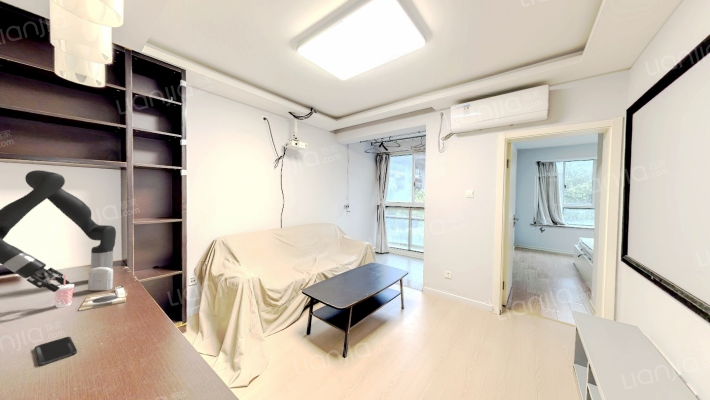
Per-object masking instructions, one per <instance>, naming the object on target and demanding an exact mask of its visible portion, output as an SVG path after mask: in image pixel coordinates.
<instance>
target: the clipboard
mask: <svg viewBox="0 0 710 400" xmlns="http://www.w3.org/2000/svg"><path fill="white" fill-rule="evenodd" d="M125 291H126V292H127V293H126V296H125V297H117V296H116V295H115V293H114V292H110V293H109V292H108V293H103V294H97V295H90V296H86V298H85V299H84V301H83V302H82V304H81V306H80V307H79V309H78V312H81V311H86V310H92V309H98V308H99V309H100V308H102V307H104V308H105V307H107V306H114V305H120V304H125V303H126V301H127V296H128V292H129V290H125ZM125 300H126V301H125Z"/></svg>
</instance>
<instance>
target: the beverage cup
mask: <svg viewBox="0 0 710 400" xmlns="http://www.w3.org/2000/svg"><path fill="white" fill-rule="evenodd" d="M66 277H67V276H66V275H63V278H64V285H62V284H60V285H57V286H58V287H59V289H58V290H57V291H55V292H54V297H55V307H56V308H65V307H68V306H71V305H72V302H73V293H74V287H75V284H74V283H68V284H66V285H65V279H66ZM66 280H67V279H66Z"/></svg>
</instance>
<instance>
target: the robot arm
mask: <svg viewBox="0 0 710 400" xmlns="http://www.w3.org/2000/svg"><path fill="white" fill-rule="evenodd" d="M24 179H25V182H26V184H27V185H28V187H30V188H31V189H32V190H31V191H29V192H28V193H27V194H24V196H22V197H20V198H18V199H16V200H14V201H11V202H10V203H8V204H6V205H5V206H3V207H2V208H0V264H1V265H2V266H3V267H5V268H6V269H8V270H10V271H11V272H13V273H14V274H16V275H18V276H20V277H22V278H23V279H26V281H27V282H28V283H30V284H31V285H33V286H35V287H36V288H39V289H42V288H44V289H48V290H49V291H51V292H52V293H55V291H57V290H58V289H59V287H58V286H59V285H56V284H54V283H52V282H51V281H54V282H55V281H56V283H58V284H60V285H64V273H62V272H60V271H58V270H56V269H55V268H53V267H48V269H47V268H46V266H47V264H46V263H45V262H42V261H41V260H39V259H38V258H36V257H34V256H33V255H31V254H29V253H27V252H24V251H23V250H22V249H20V248H18V247H16V246H14V245H12V244H9V243H8V242H6V241H5V240H4V239H5V238H6V236H7V235H8V234H9V233H10V231H11V230H12V229H13V228H14V227H15V226H16V225H17V224H19V222H20V221H21V220H22V219H23V218H24V217H25V216H26V215H28V214H29V213H30V212H31V211H32V210H33V209H34V208H36V207H37V206H39V205H40V204H42V202H44V201H46V199H47V200H48V201H49V202H50V203H51V204H52V205H54V206H55V207H56V209H58V210H59V211H60V212H61V213H62V214H64V215H65V216H66V217H67V218H68V219H69V220H71V221H72V222H73V223H74V224H75V225H76V226H77V227H78V228H80V229H81V231H82V232H83V233H84V234H85V236H87V237H88V238H89V239H90V240H93V241H100V242H99V244H98V245H97V246H93V247H91V250H90V251H91V253H90V254H91V255H90V270H91V269H93V268H97V267H108V268H111V269H113V265H114V263H113V262H114V247H115V245H116V237H117V231H116V228H115V226H114V225H108V224H107V225H103V224H100V225H99V224H98V223H96V222H95V221H94V220H93V219H92V209H91V208H90V207H89V206H88V205H87V204H86V203H85V202H84V201H83V200H81V199H80V198H78V197H77V196H75V195H73V194H71V193H70V192H68V191H66V190H64V189H63V186H64V185H65V183H66V179H65V178H64V176H63V175H61V174H59V173H57V172H52V171H47V170H40V169H39V170H38V169H37V170H32V171H31V170H30V171H29V172H27V174H26V175H25V178H24ZM113 270H114V269H113ZM66 284H71V283H70V281H69V280H67V279H65V285H66Z"/></svg>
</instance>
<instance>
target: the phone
mask: <svg viewBox="0 0 710 400" xmlns="http://www.w3.org/2000/svg"><path fill="white" fill-rule="evenodd" d="M34 352H35V356H36V361H37V365H38V366H39V367H42V366H45V365H49V364H51V363H54V362H58V361H60V360H64V359H66V358H69V357H71V356H74V355H76V354H77V353H78V350H77V347H76V345H75V344H74V342H73V340H72V338H71V336H66V337H62V338H59V339H58V338H57V339H55V340H52V341H48V342H45V343H41V344H38V345H36V346H35V347H34Z"/></svg>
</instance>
